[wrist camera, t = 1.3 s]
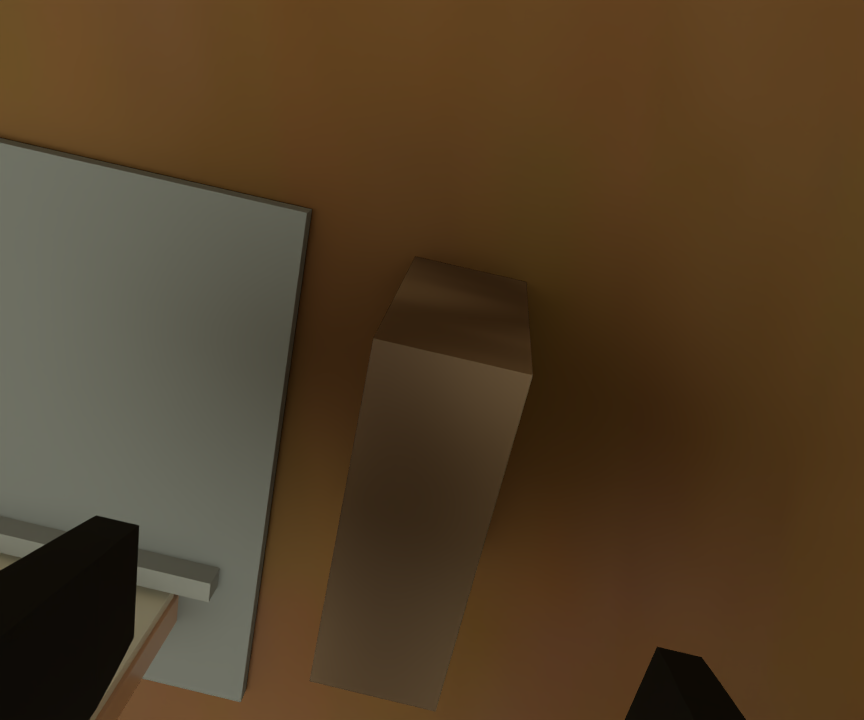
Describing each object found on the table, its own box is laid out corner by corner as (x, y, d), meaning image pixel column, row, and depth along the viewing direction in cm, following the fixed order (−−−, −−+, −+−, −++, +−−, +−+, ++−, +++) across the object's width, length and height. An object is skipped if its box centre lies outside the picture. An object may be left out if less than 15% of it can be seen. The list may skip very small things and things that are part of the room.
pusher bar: (526, 280, 15) (532, 375, 10) (455, 544, 18) (435, 711, 13) (415, 255, 15) (373, 338, 10) (361, 522, 18) (309, 680, 13)
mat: (312, 209, 15) (299, 218, 14) (245, 690, 20) (232, 720, 19) (-151, 103, 15) (-194, 105, 14) (-92, 609, 20) (-120, 634, 19)
